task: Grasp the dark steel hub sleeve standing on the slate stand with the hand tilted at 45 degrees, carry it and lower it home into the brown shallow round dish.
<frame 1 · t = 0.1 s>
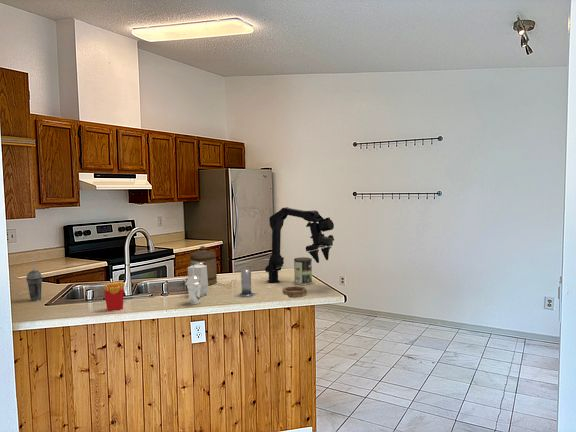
hand: (322, 261, 236), 15 cm above the counter, tool pointing down, fingers open, 9 cm apart
coffee can: (303, 283, 254), on the counter
beverage cup: (35, 300, 225), on the counter
brown shallow round dish: (294, 294, 229), on the counter
french fries: (115, 309, 207), on the counter
stand: (246, 296, 225), on the counter
hub sleeve: (246, 294, 225), point 1 cm above the counter, touching stand
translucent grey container: (204, 283, 257), on the counter
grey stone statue: (195, 303, 215), on the counter
skincare box: (198, 295, 230), on the counter
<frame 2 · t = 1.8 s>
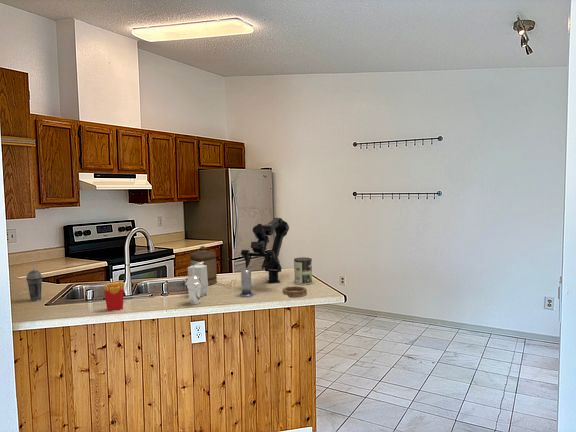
hand: (254, 268, 231), 13 cm above the counter, tool tilted 45°, fingers open, 9 cm apart
nothing on the counter moved.
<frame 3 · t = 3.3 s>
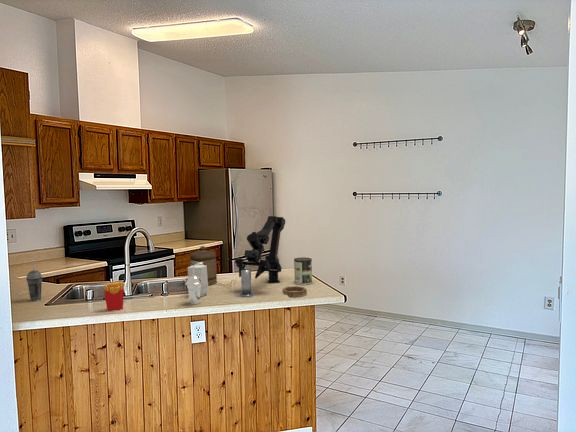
hand: (247, 277, 226), 10 cm above the counter, tool tilted 45°, fingers open, 9 cm apart
nothing on the counter moved.
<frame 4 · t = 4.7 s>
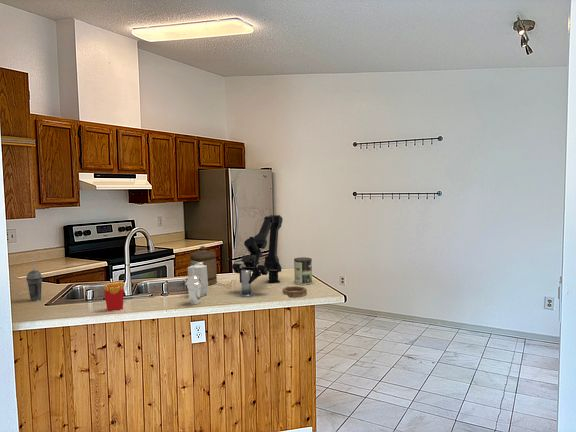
hand: (245, 282, 223), 8 cm above the counter, tool tilted 45°, fingers closed on hub sleeve, 5 cm apart
hub sleeve: (246, 294, 225), point 1 cm above the counter, touching gripper, stand
everything else where it was.
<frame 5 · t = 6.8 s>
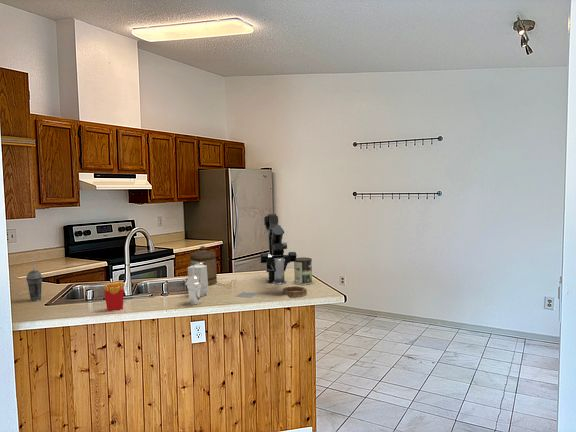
hand: (279, 271, 223), 13 cm above the counter, tool tilted 45°, fingers closed on hub sleeve, 5 cm apart
hub sleeve: (279, 283, 225), point 7 cm above the counter, touching gripper
everything else where it was.
when the fingers open (8 cm above the counter, at t = 9.0 s): hub sleeve drops 1 cm, resting on brown shallow round dish.
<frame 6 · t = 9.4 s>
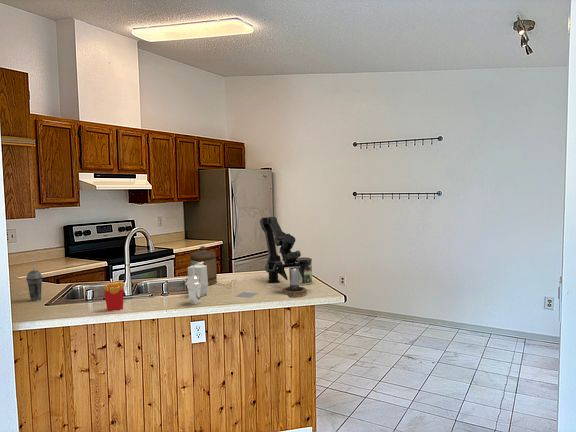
hand: (295, 278, 227), 8 cm above the counter, tool tilted 45°, fingers open, 9 cm apart
hub sleeve: (294, 292, 229), point 1 cm above the counter, touching brown shallow round dish
everything else where it was.
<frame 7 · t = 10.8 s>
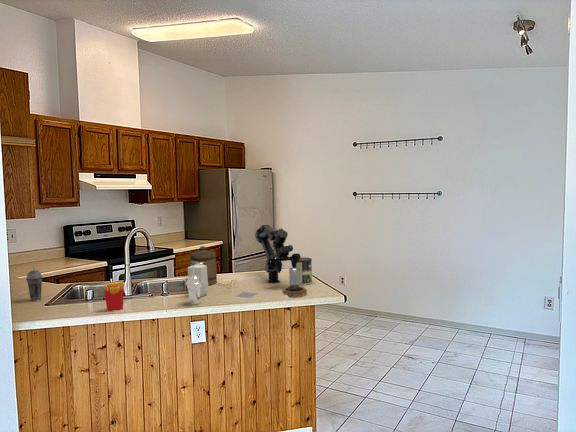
hand: (287, 272, 236), 10 cm above the counter, tool tilted 45°, fingers open, 9 cm apart
nothing on the counter moved.
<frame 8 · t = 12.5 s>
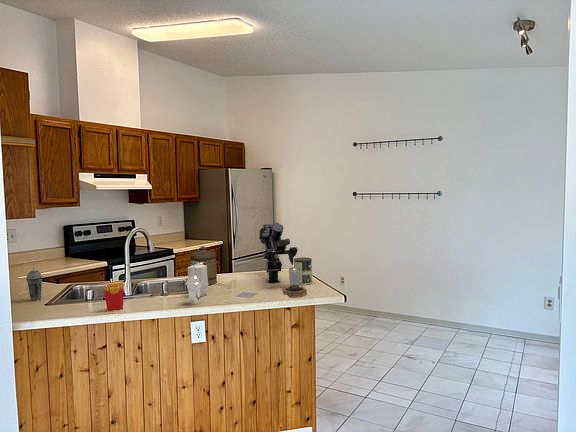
hand: (284, 265, 237), 14 cm above the counter, tool tilted 45°, fingers open, 9 cm apart
nothing on the counter moved.
at the end: hub sleeve 0.0 cm off-centre on the brown shallow round dish, point 0.6 cm above the brown shallow round dish's base; hub sleeve tilted 0°; the gripper is holding nothing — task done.
